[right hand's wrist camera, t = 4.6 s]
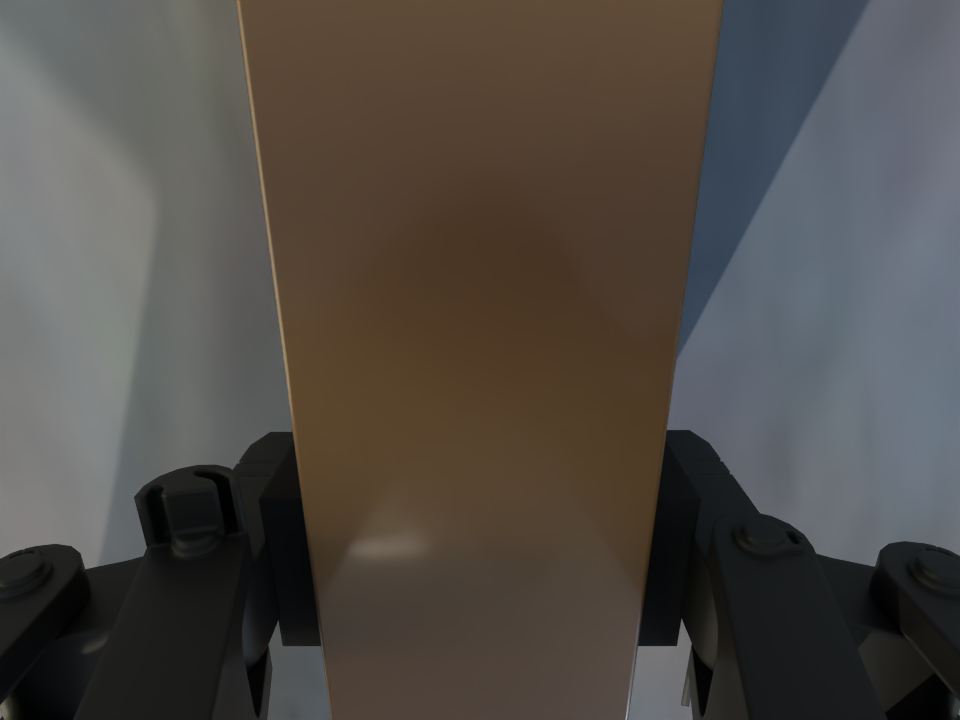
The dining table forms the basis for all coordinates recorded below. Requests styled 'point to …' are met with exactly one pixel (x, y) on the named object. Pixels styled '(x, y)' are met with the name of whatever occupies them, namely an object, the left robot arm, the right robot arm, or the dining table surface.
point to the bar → (479, 330)
